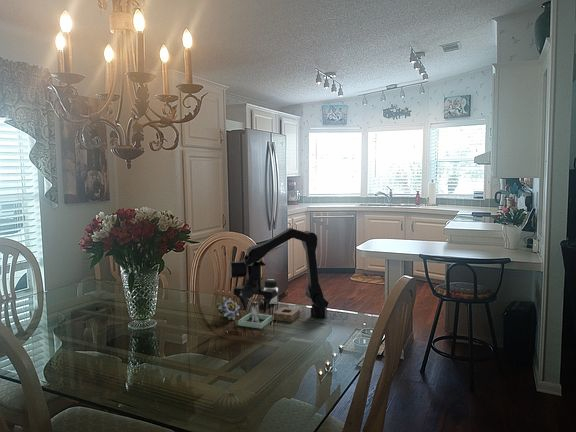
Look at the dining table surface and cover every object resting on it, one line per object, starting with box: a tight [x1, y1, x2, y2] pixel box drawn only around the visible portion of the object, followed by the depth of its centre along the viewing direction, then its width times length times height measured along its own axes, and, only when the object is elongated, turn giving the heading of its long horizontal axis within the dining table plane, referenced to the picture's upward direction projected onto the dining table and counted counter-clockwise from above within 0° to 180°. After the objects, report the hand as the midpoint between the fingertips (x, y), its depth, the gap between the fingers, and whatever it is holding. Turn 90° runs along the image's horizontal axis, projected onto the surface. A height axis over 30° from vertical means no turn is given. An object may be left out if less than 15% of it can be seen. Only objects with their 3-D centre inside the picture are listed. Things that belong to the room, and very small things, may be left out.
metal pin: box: [250, 301, 260, 323], centre depth 192 cm, size 3×3×9 cm
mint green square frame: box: [237, 312, 273, 330], centre depth 193 cm, size 11×11×3 cm
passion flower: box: [215, 296, 241, 321], centre depth 202 cm, size 11×11×12 cm
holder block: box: [272, 306, 301, 323], centre depth 199 cm, size 9×9×4 cm
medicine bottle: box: [262, 279, 279, 305], centre depth 222 cm, size 7×7×12 cm
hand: (255, 311), depth 192 cm, fingers open, 9 cm apart
